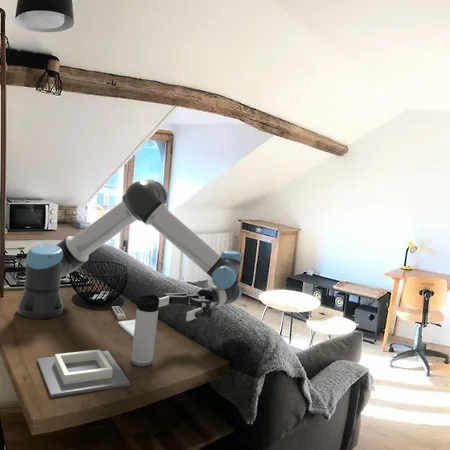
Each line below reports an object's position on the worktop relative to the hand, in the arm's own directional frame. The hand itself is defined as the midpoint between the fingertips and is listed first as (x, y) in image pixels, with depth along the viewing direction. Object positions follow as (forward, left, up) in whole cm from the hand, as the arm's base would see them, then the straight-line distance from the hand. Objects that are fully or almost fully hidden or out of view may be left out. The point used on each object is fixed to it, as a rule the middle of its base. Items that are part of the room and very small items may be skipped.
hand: (170, 310), depth 141 cm
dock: (+6, -27, -14) cm, 31 cm away
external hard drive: (-20, -2, -15) cm, 25 cm away
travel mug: (+4, -9, -14) cm, 17 cm away
